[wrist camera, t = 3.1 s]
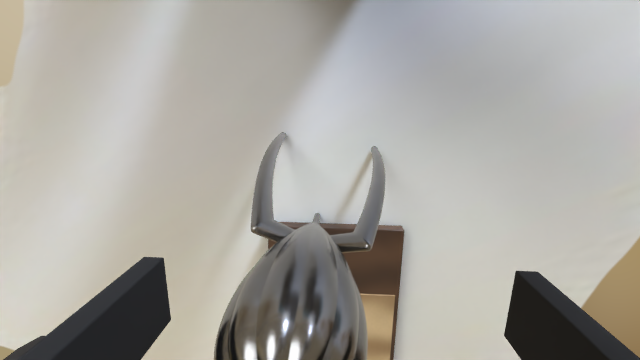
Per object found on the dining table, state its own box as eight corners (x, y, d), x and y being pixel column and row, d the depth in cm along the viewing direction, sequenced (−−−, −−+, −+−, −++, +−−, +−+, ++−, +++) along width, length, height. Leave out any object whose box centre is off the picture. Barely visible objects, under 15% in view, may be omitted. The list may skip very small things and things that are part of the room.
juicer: (315, 219, 38) (248, 597, 9) (279, 133, 36) (33, 274, 7) (392, 192, 37) (601, 534, 8) (360, 100, 34) (485, 103, 5)
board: (270, 221, 39) (267, 226, 37) (401, 225, 38) (404, 231, 36) (274, 368, 44) (272, 378, 42) (389, 374, 43) (391, 385, 42)
